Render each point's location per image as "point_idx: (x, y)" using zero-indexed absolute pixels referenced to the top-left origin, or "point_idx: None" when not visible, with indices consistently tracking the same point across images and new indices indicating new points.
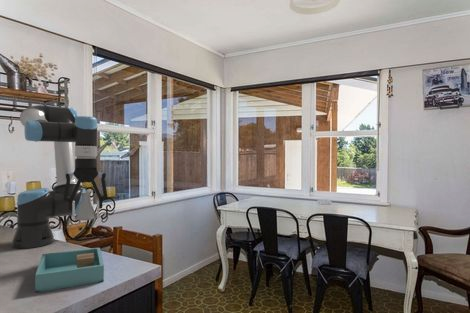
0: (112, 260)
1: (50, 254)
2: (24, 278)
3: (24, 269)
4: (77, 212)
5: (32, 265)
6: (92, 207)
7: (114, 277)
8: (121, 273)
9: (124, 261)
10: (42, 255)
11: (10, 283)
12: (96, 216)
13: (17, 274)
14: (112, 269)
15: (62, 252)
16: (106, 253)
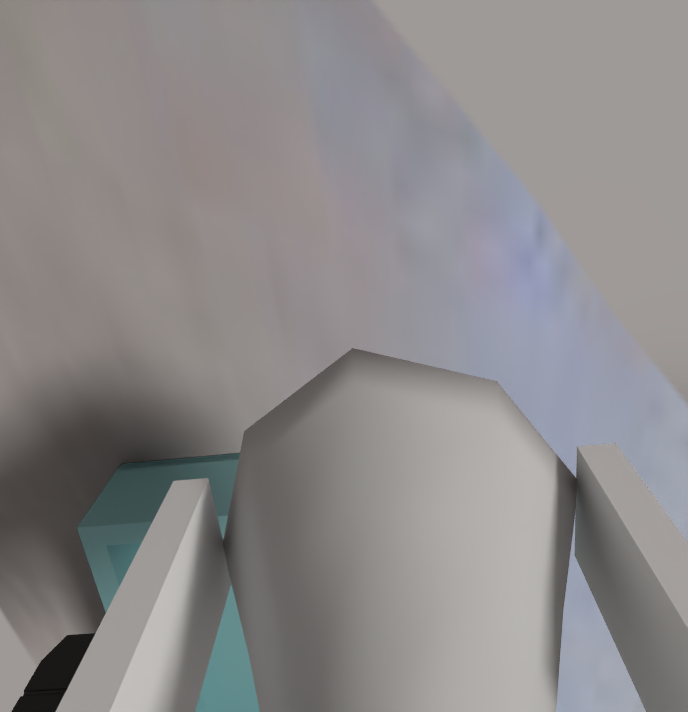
0: (583, 441)
1: (139, 542)
2: (78, 581)
3: (4, 439)
4: (244, 624)
5: (21, 375)
6: (552, 661)
7: (562, 701)
8: (606, 666)
9: (664, 487)
10: (89, 558)
11: (36, 623)
12: (575, 491)
13: (5, 512)
14: (564, 599)
15: (221, 532)
16: (553, 247)
